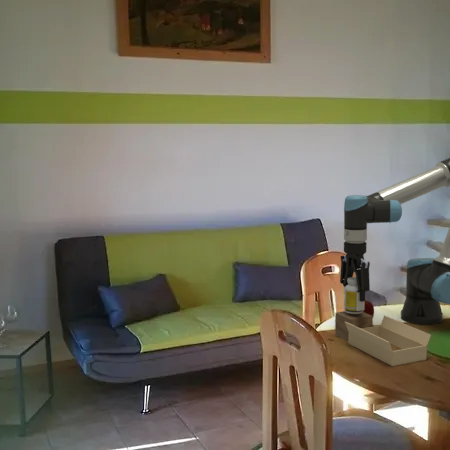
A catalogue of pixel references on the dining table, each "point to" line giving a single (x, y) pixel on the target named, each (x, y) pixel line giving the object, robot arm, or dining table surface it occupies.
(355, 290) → the pill bottle
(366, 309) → the apple
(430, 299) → the robot arm
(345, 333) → the block
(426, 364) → the dining table surface
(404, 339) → the carton
